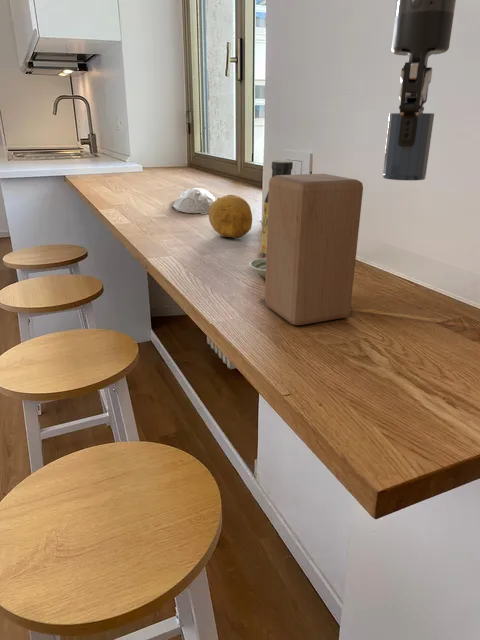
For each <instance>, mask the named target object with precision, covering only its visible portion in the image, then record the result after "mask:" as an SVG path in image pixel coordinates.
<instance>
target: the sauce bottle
mask: <svg viewBox="0 0 480 640" xmlns="http://www.w3.org/2000/svg"><path fill="white" fill-rule="evenodd" d="M293 163H294V162H293V161H291V160H287V159H285V160H284V159H276V160H274V159H273V160H272V161H271V167H270V168H271V178H272V177H274V176H276V175H292V170H293V165H294V164H293ZM268 194H269V189H268V191H267V193H266V196H265V199H264V201H263V215H262V231H261V232H262V233H261V235H262V236H261V258H266V252H267V223H268Z"/></svg>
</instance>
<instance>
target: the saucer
mask: <svg viewBox="0 0 480 640" xmlns="http://www.w3.org/2000/svg"><path fill="white" fill-rule="evenodd" d="M248 266H249V268H250V270H252V271H253V272H254V273H255V274H257V275H259V276H261V278H263V279H266V258H262V257H261V258H256V259H253V260H251V261H250V262H249V263H248Z"/></svg>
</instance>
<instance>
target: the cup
mask: <svg viewBox="0 0 480 640" xmlns="http://www.w3.org/2000/svg"><path fill="white" fill-rule="evenodd" d="M401 118H404V117H400V112H399V113H398V112H397V113H396V112H395V113H394V112H391V113H389V116H388V124H387V133H386V144H385V151H384V152H385V153H384V161H383V170H382V178H383V179H386V180H393V181H424V180H426V177H427V171H428V162H429V157H430V148H431V143H432V142H431V141H432V134H433V127H434V120H435V113H434V112H433V113H432V112H430V113H429V112H428V113H426V112H423V113H420V115H419V117H415V118H418V122H417V130H416V138H415V144H414V145H413V146H412V147H401V146H399V145H398V140H399V132H400V123H401Z"/></svg>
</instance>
